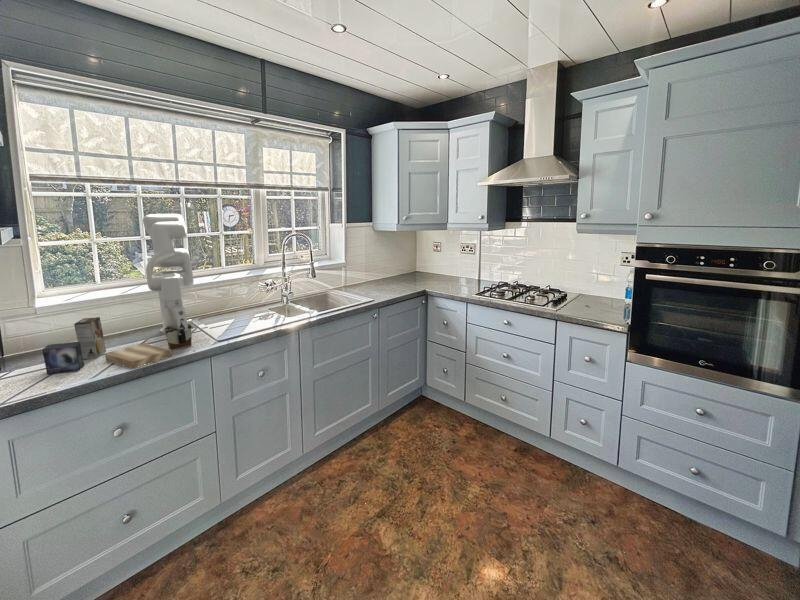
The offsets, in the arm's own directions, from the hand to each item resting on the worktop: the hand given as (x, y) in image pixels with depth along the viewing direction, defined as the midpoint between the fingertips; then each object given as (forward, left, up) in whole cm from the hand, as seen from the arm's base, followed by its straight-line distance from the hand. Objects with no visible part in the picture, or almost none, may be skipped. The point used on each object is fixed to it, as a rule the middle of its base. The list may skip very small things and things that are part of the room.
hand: (178, 341), depth 184 cm
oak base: (+17, -1, -3) cm, 17 cm away
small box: (+38, -14, -3) cm, 41 cm away
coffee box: (+24, -23, -3) cm, 33 cm away
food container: (0, -1, -3) cm, 3 cm away
